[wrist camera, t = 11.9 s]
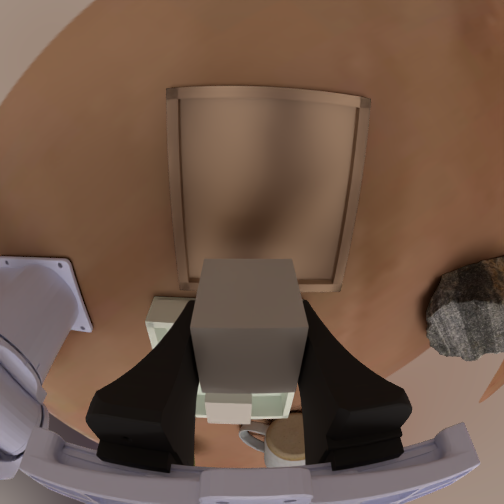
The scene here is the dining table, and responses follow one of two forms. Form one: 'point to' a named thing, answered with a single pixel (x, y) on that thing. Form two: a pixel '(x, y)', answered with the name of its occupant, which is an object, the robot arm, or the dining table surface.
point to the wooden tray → (265, 178)
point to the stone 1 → (248, 326)
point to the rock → (468, 311)
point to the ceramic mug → (278, 440)
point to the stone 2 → (228, 408)
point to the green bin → (263, 404)
